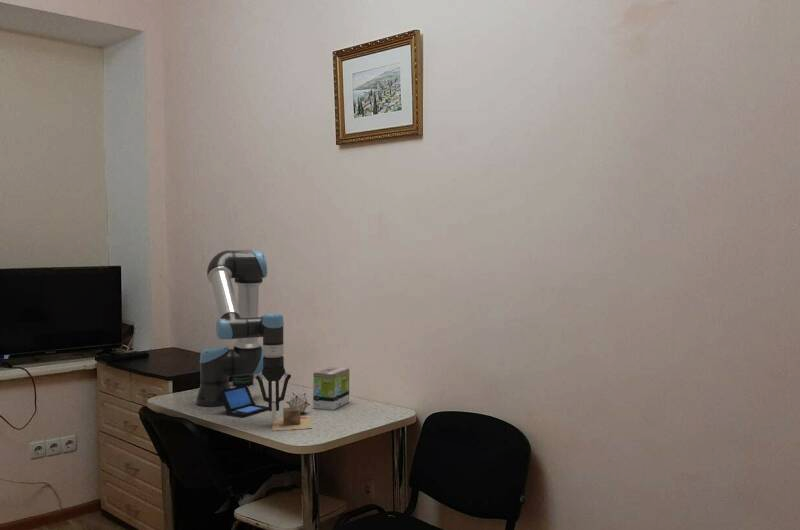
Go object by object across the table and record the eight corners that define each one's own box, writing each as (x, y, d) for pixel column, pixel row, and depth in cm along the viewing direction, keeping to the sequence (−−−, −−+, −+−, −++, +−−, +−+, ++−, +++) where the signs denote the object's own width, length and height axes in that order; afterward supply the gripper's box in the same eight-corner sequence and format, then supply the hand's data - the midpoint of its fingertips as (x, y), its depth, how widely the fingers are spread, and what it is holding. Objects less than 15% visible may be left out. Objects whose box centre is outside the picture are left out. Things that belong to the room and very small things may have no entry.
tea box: (335, 410, 262) (334, 373, 262) (312, 408, 265) (312, 372, 265) (350, 402, 276) (349, 367, 276) (328, 400, 280) (328, 366, 279)
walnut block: (283, 425, 239) (283, 411, 239) (283, 421, 245) (283, 407, 245) (300, 424, 240) (300, 410, 240) (299, 420, 246) (299, 407, 246)
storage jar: (247, 382, 322) (247, 351, 321) (257, 385, 314) (257, 354, 314) (228, 384, 315) (228, 353, 315) (238, 388, 308) (237, 356, 308)
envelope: (272, 431, 232) (272, 430, 232) (272, 418, 250) (272, 417, 250) (312, 428, 235) (312, 427, 235) (309, 416, 252) (309, 415, 252)
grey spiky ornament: (302, 422, 259) (317, 400, 261) (297, 419, 251) (312, 397, 253) (284, 409, 261) (299, 388, 264) (279, 406, 253) (294, 384, 256)
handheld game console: (242, 418, 251) (242, 394, 251) (218, 414, 258) (217, 391, 258) (270, 410, 264) (270, 387, 264) (246, 406, 271) (246, 384, 271)
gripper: (254, 358, 236) (255, 423, 236) (291, 356, 238) (292, 421, 238) (255, 354, 243) (256, 418, 243) (291, 353, 245) (291, 416, 246)
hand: (274, 419), depth 241 cm, fingers closed
